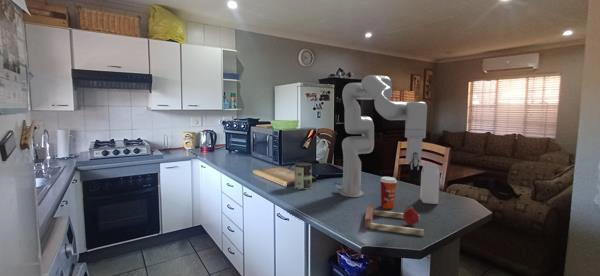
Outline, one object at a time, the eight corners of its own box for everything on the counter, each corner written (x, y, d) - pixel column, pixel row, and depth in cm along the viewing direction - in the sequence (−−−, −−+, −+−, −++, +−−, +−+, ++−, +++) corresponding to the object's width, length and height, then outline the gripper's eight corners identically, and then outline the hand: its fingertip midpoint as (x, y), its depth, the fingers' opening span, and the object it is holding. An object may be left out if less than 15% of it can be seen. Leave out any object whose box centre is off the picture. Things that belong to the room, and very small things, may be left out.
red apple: (400, 223, 118) (401, 204, 117) (413, 222, 118) (414, 203, 117) (406, 229, 112) (407, 209, 111) (420, 228, 113) (421, 209, 112)
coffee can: (311, 185, 174) (311, 162, 173) (311, 189, 164) (312, 165, 162) (294, 184, 174) (294, 162, 173) (294, 189, 164) (294, 165, 162)
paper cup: (387, 210, 132) (388, 181, 130) (375, 205, 138) (376, 177, 137) (399, 208, 135) (400, 179, 134) (387, 203, 142) (388, 175, 141)
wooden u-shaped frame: (364, 228, 113) (365, 218, 112) (367, 213, 128) (368, 204, 128) (423, 235, 106) (423, 225, 106) (419, 219, 122) (419, 210, 121)
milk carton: (438, 204, 141) (440, 166, 139) (422, 203, 142) (424, 165, 140) (434, 199, 148) (436, 163, 146) (419, 198, 149) (421, 163, 147)
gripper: (403, 131, 120) (402, 171, 122) (406, 135, 104) (404, 181, 106) (423, 132, 118) (421, 172, 120) (428, 136, 102) (426, 183, 104)
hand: (413, 176), depth 113 cm, fingers open, 9 cm apart
